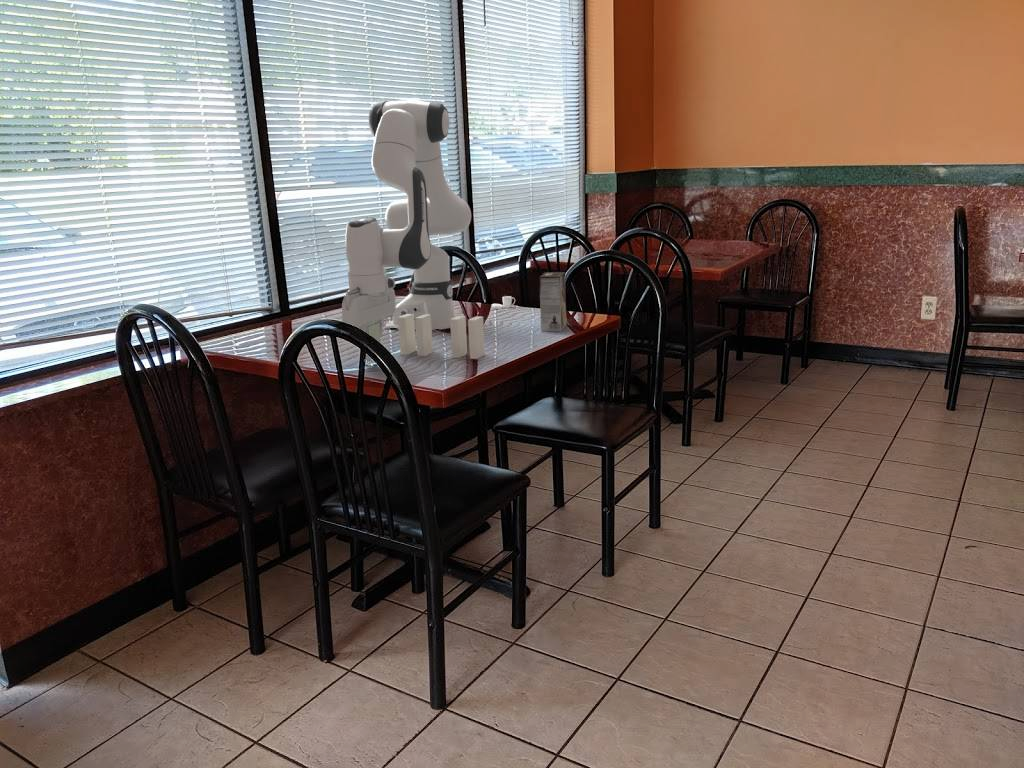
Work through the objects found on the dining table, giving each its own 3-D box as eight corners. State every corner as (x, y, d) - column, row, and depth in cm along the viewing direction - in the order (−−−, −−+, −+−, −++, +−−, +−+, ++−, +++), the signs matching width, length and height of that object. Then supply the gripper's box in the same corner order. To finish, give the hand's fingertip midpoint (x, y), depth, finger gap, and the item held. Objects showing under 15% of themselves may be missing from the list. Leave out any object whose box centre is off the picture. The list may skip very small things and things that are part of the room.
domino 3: (417, 355, 216) (415, 317, 214) (426, 351, 221) (423, 314, 218) (424, 356, 216) (421, 318, 213) (432, 351, 220) (430, 314, 217)
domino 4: (452, 357, 213) (450, 319, 210) (460, 353, 217) (458, 315, 215) (459, 358, 212) (457, 319, 209) (467, 353, 216) (465, 315, 214)
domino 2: (400, 354, 218) (397, 317, 215) (409, 350, 223) (407, 313, 220) (407, 355, 217) (404, 317, 215) (416, 350, 222) (413, 314, 219)
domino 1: (365, 365, 207) (361, 326, 205) (375, 361, 212) (372, 322, 209) (372, 366, 207) (368, 326, 204) (382, 361, 211) (378, 323, 209)
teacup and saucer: (489, 310, 278) (489, 298, 277) (498, 306, 285) (497, 294, 284) (514, 311, 275) (514, 299, 274) (522, 307, 282) (521, 295, 281)
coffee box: (545, 325, 249) (544, 272, 245) (566, 325, 248) (565, 271, 243) (540, 331, 240) (539, 276, 236) (562, 331, 239) (561, 276, 235)
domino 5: (470, 358, 211) (468, 320, 208) (477, 354, 215) (475, 316, 213) (477, 359, 210) (475, 320, 208) (484, 354, 215) (483, 316, 212)
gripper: (355, 292, 194) (360, 349, 197) (398, 279, 212) (402, 332, 216) (332, 291, 196) (338, 348, 200) (376, 278, 214) (380, 331, 218)
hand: (371, 339), depth 208 cm, fingers closed on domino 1, 5 cm apart
